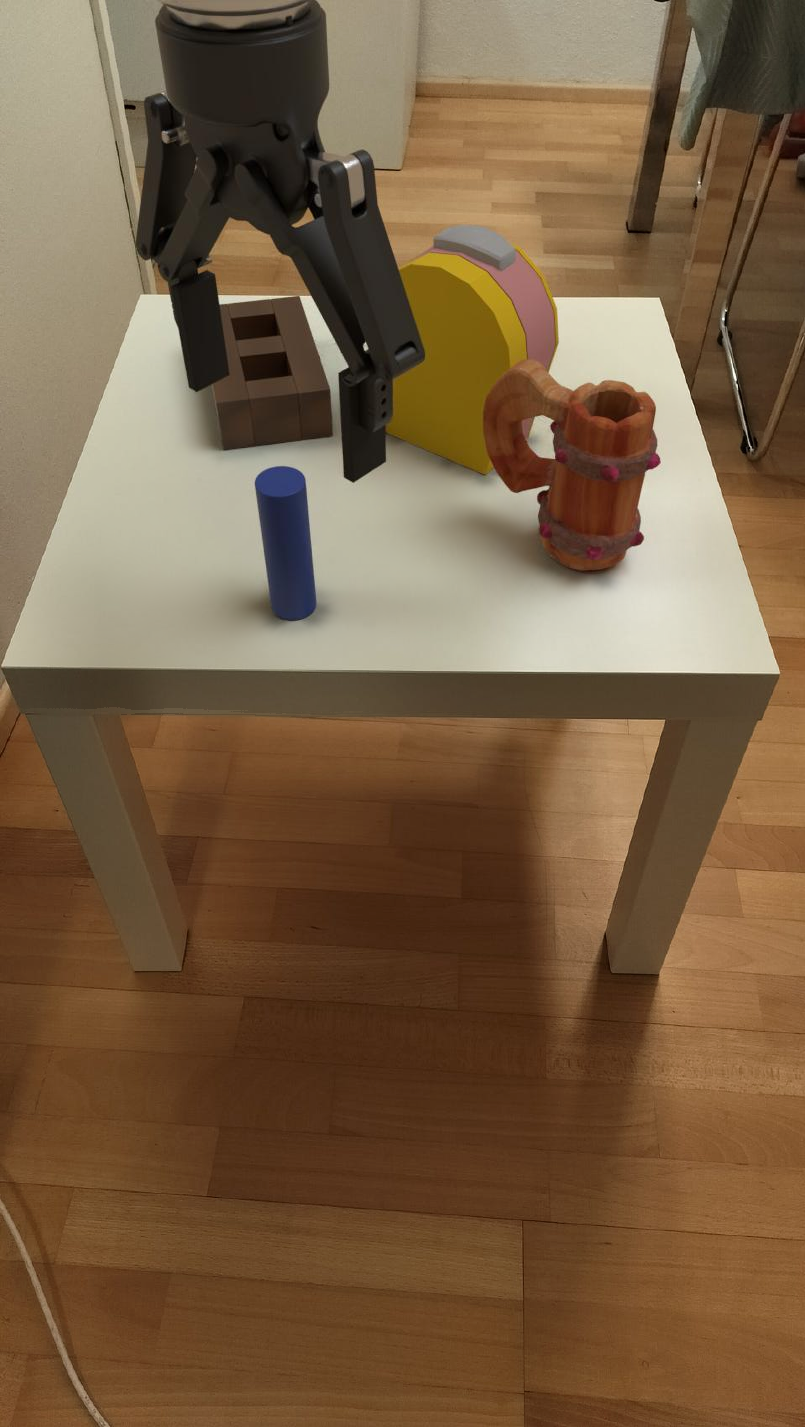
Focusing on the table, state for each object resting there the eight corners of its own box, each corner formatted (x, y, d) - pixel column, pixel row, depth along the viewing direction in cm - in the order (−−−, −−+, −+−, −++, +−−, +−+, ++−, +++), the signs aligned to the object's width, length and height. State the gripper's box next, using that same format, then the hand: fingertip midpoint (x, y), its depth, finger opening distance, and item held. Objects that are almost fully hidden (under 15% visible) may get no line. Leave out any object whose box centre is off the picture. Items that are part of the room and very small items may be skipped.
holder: (223, 450, 93) (215, 403, 89) (204, 352, 104) (197, 306, 101) (333, 436, 95) (330, 388, 91) (303, 340, 106) (299, 295, 102)
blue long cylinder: (274, 623, 78) (258, 499, 69) (268, 593, 80) (251, 469, 71) (320, 616, 79) (309, 492, 70) (312, 586, 81) (301, 462, 72)
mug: (655, 543, 85) (694, 383, 73) (615, 598, 80) (650, 438, 69) (503, 486, 90) (518, 328, 78) (457, 535, 85) (466, 376, 74)
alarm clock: (548, 439, 94) (574, 243, 80) (502, 482, 90) (520, 283, 76) (420, 387, 100) (423, 197, 86) (370, 425, 96) (365, 231, 82)
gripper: (517, 43, 40) (484, 481, 56) (132, -65, 51) (197, 327, 67) (389, 93, 36) (393, 545, 53) (4, -35, 47) (106, 372, 63)
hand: (283, 423), depth 60 cm, fingers open, 13 cm apart
